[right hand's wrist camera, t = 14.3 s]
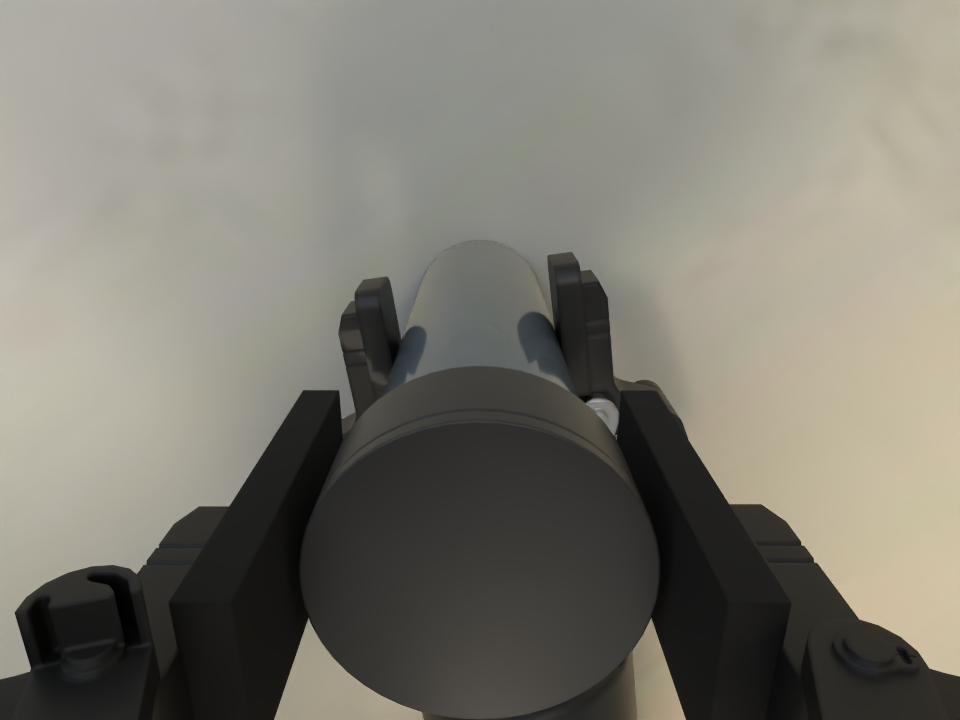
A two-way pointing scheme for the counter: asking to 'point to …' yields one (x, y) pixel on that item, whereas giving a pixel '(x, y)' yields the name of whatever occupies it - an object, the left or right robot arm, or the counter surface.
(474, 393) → the lid
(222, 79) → the counter surface
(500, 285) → the grey cylinder
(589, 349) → the left robot arm
